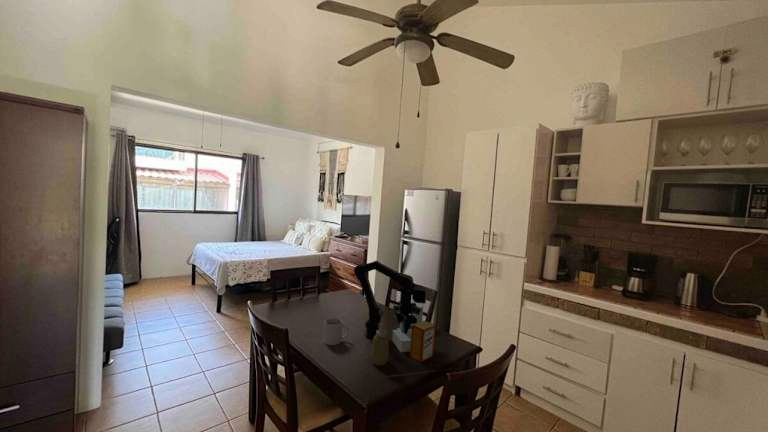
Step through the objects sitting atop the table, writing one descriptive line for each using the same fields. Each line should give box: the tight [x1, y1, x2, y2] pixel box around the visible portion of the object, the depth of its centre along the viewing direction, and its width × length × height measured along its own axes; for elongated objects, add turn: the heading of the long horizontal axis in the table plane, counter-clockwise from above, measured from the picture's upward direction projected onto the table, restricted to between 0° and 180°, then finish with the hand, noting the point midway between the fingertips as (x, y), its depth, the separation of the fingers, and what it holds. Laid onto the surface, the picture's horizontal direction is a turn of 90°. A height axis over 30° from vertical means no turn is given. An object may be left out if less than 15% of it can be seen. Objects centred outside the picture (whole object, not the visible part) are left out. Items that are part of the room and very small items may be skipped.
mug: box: [323, 318, 349, 346], centre depth 154 cm, size 11×10×10 cm
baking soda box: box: [409, 320, 437, 363], centre depth 145 cm, size 10×6×16 cm
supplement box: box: [409, 302, 425, 328], centre depth 182 cm, size 7×7×13 cm
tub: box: [392, 332, 411, 353], centre depth 155 cm, size 10×12×5 cm
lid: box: [392, 322, 412, 343], centre depth 155 cm, size 10×14×5 cm
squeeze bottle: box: [370, 322, 390, 367], centre depth 137 cm, size 8×8×18 cm
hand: (403, 330), depth 159 cm, fingers open, 7 cm apart
